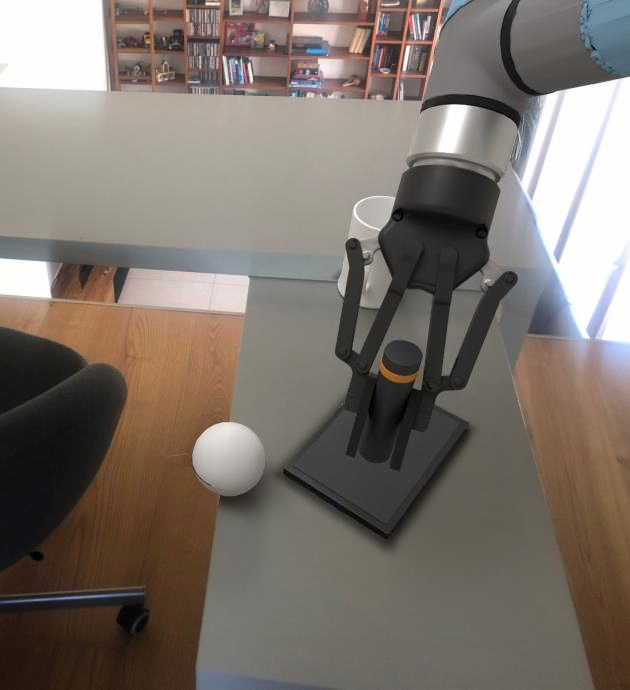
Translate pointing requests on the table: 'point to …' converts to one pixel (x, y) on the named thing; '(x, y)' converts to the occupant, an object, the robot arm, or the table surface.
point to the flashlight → (389, 399)
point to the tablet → (372, 469)
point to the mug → (377, 278)
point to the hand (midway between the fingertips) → (372, 460)
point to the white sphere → (228, 459)
